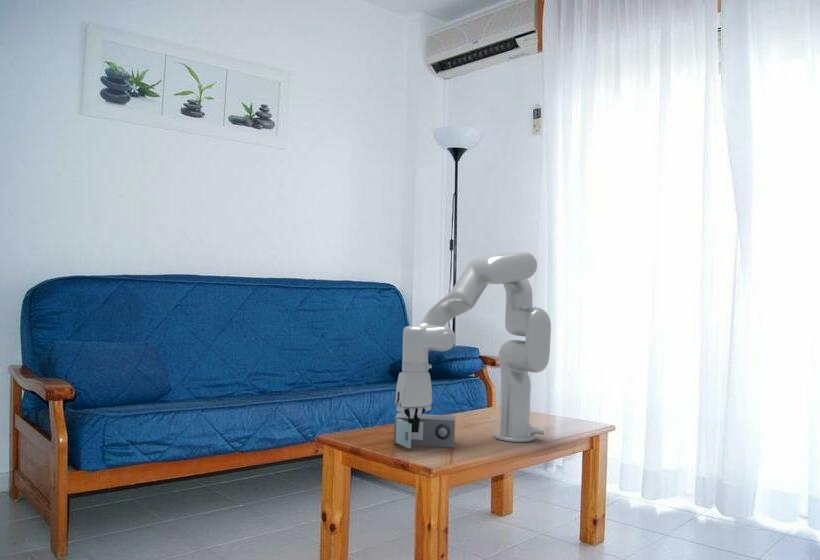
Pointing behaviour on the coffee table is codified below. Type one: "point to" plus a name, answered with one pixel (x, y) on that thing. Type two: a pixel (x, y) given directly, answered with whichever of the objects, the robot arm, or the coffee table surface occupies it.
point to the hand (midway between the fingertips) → (413, 431)
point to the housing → (431, 430)
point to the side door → (403, 433)
